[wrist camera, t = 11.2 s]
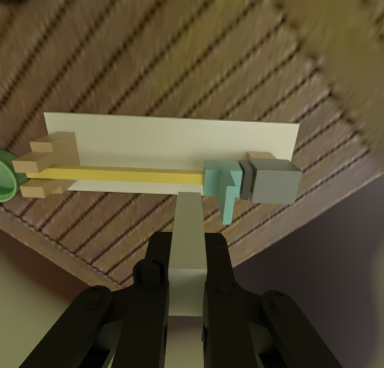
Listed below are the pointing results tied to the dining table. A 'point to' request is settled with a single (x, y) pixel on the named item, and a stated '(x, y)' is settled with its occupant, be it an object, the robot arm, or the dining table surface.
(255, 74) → the dining table surface
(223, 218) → the sleeve
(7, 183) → the ramekin
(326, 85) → the dining table surface
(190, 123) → the cord rig
